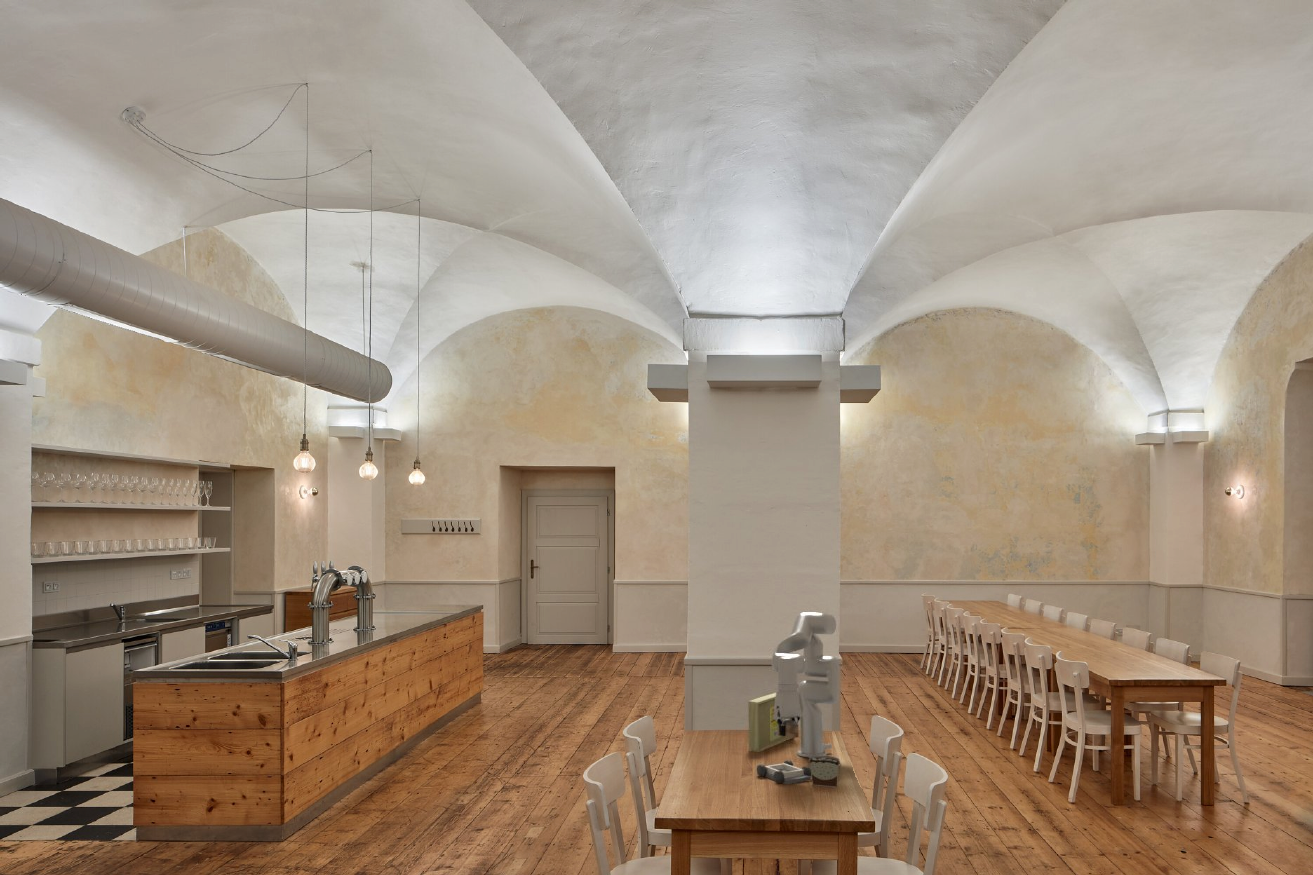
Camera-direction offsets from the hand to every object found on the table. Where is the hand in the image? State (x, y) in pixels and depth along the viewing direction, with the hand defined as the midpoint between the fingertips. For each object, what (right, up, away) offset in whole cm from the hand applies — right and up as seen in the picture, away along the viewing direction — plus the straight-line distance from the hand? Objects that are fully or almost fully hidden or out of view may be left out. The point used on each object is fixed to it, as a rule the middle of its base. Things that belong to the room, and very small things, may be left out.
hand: (787, 734), depth 369 cm
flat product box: (0, -22, +53) cm, 57 cm away
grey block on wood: (0, -1, 0) cm, 1 cm away
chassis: (-2, -16, -4) cm, 16 cm away
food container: (+13, -15, -14) cm, 24 cm away
